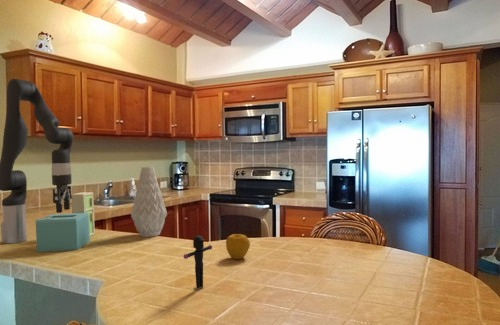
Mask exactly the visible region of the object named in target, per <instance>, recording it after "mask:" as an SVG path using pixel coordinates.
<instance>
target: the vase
mask: <svg viewBox="0 0 500 325" xmlns="http://www.w3.org/2000/svg"><path fill="white" fill-rule="evenodd" d="M130 215H131V216H130V218H131V219H132V220H133V222H134V223H133V224H134V226H135V228H136V230H137V232H138V233H139V235H140V237H143V238H151V237H152V238H153V237H157V236H159V235H161V232H162V230H163V228H164V225H165V218H166V217H167V216H168V212H167V208H166V206H165V203H164V198H163V195H162V191H161V189H160V184H159V183H158V179H157V175H156V171H155V168H154V166H142V167H141V168H140V173H139V179H138V183H137V187H136V191H135V196H134V201H133V206H132V211H131V213H130Z"/></svg>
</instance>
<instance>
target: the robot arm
mask: <svg viewBox="0 0 500 325" xmlns="http://www.w3.org/2000/svg"><path fill="white" fill-rule="evenodd" d="M5 97H6V99H5V100H6V105H5V106H6V108H5V109H6V110H5V111H6V113H5V123H4V128H3V136H2V148H1V154H0V155H1V156H0V192H1V191H2V192H8V191H10V194H9V195H8V196H6V197H5V198H2V200H1V212H2V221H1V222H0V232H1V233H0V236H1V244H15V243H16V244H17V243H18V244H19V243H22V242H25V241H27V237H28V235H27V216H26V210H27V209H26V199H27V192H28V191H27V189H28V188H27V186H28V184H27V183H28V181H27V176H26V173H25V172H24V171H23V170H19V169H18V170H17V169H16V170H13V169H14V164H15V161H16V160H17V158H18V157H19V156H20V154H21V153H22V152H23V150H24V149H25V147H26V145H27V141H28V132H29V130H28V126H27V124H26V122H25V120H24V118H23V116H22V114H21V110H20V107H21V106H20V102H21V101H24V102H29V103H31V105H33V106H34V111H33V116H34V119H35V121H37V122H38V124H39V125H40V127H41V128H42V129H43V130H42V131H43V133H44V136H45V138H46V140H47V141H48V142H49V143H50V144H53V145H54V144H55V145H59V148H58V149H54V150H52V152H51V181H52V182H51V184H52V186H56V187H55V188H52V203H53V204H55V212H56V214H62V213H63V210H64V211H67V210H70V209H71V206H70V205H71V204H70V201H71V200H72V185H71V184H72V180H73V179H72V166H71V156H70V155H71V150H72V145H73V142H74V134H73V131H72V130H71V129H70V128H68V127H59V126H60V121H59V120H58V118H57V117H56V116H55V114H54V113H53V112H52V110H51V109H50V108H49V107H48V105H47V103H46V101H45V99H44V98H43V95H42V94H41V92H40V90H39V88H38V87H37V85H36V84H35V83H34V82H32V81H29V80H25V79H24V80H23V79H19V78H11V79H10V80H9V81H8V82H7V85H6V95H5Z"/></svg>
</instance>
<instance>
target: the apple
mask: <svg viewBox="0 0 500 325" xmlns="http://www.w3.org/2000/svg"><path fill="white" fill-rule="evenodd" d="M250 242H251V241H250V239H249V238H248V237H247V235H245V234H242V233H233V234H231V235H229V236H228V237H226V241H225V248H226V250H227V253H228V254H229V255H228V256H230V258H231V259H234V260H242V259H244V257H245V256H246V255H247V254H248V251H249V249H250V246H251V243H250Z"/></svg>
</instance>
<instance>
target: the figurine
mask: <svg viewBox="0 0 500 325" xmlns="http://www.w3.org/2000/svg"><path fill="white" fill-rule="evenodd" d="M192 242H193V243H192V244H193V246H192V247H193V248H194V249H195V250H194V251H192V252H189V253H184V255H183V259H184V260H187V259H188V258H191V257H193V258H194V261H195V264H194V271H195V272H194V273H195V284H196V285H195V286H196V287H194V288H193V290H195V291H200V290H201V289H204V262H203V260H204V252H206V251H209V250H212V249H213V246H212V245H211V244H209V245H208V246H204V243H205V239H204V238H203V236H202V235H195V236H194V237H193V240H192Z"/></svg>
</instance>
